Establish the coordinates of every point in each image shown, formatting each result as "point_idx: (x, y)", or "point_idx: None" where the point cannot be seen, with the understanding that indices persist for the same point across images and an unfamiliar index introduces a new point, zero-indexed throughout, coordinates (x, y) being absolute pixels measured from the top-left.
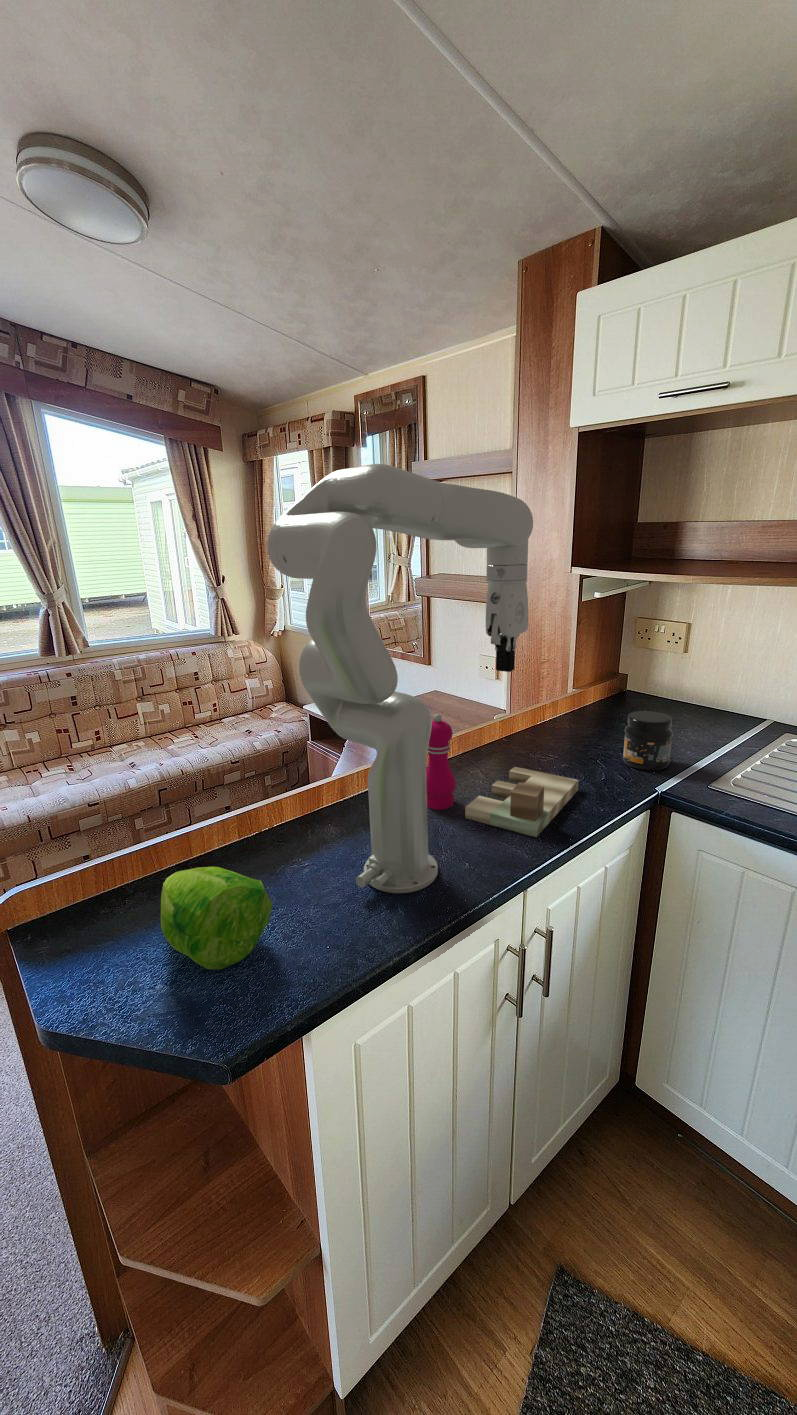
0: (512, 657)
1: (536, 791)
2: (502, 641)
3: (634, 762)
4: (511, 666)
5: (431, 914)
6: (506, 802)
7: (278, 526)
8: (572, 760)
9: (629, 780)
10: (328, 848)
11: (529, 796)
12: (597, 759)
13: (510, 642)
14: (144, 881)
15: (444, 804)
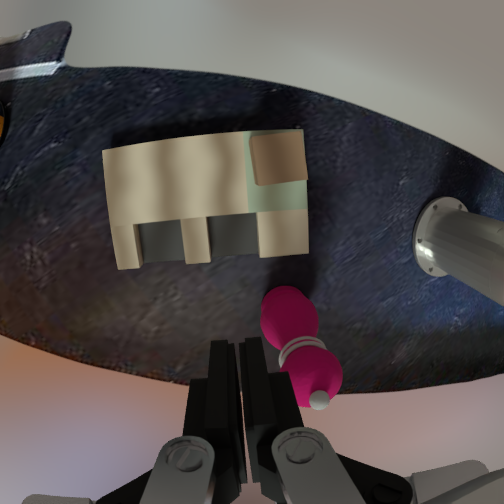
0: (235, 393)
1: (279, 140)
2: (409, 494)
3: (2, 129)
4: (258, 350)
5: (471, 172)
6: (257, 206)
7: None
8: (23, 218)
9: (42, 112)
10: (431, 325)
11: (302, 144)
12: (4, 189)
13: (289, 494)
14: (487, 374)
15: (298, 291)
